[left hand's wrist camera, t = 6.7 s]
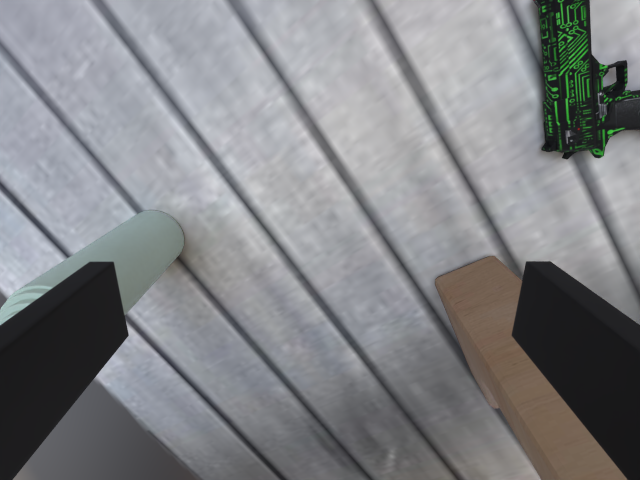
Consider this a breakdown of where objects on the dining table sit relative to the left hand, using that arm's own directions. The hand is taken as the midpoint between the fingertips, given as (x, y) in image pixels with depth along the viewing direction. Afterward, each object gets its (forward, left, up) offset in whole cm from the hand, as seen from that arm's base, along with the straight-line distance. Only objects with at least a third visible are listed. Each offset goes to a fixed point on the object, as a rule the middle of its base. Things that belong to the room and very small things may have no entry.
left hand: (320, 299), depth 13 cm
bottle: (+9, -19, -30) cm, 37 cm away
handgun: (-9, +28, -30) cm, 42 cm away
